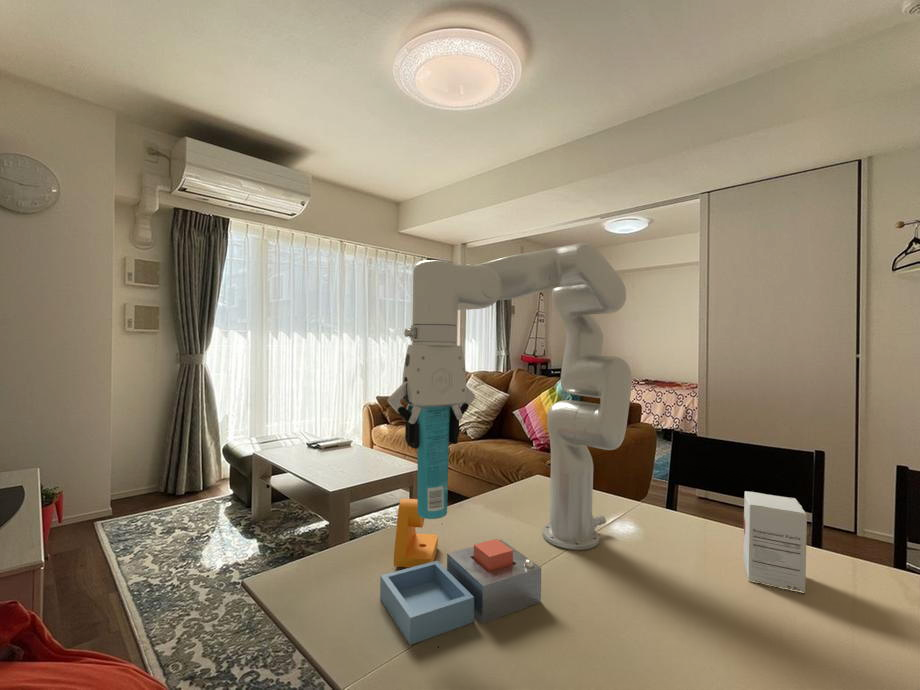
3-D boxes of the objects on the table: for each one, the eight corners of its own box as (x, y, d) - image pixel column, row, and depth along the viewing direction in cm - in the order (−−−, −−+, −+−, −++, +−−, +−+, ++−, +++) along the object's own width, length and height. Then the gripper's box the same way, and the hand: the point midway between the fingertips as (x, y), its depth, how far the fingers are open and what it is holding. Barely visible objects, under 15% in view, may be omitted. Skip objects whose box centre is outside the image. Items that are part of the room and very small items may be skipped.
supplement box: (742, 561, 90) (743, 489, 90) (795, 572, 86) (797, 497, 86) (746, 582, 82) (748, 503, 82) (806, 595, 78) (808, 513, 78)
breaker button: (496, 576, 80) (496, 538, 80) (512, 590, 75) (513, 550, 75) (473, 583, 77) (473, 544, 77) (488, 598, 73) (489, 556, 73)
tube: (436, 504, 75) (438, 395, 75) (457, 511, 72) (460, 398, 72) (405, 516, 70) (408, 398, 70) (426, 525, 67) (429, 401, 67)
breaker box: (500, 569, 84) (501, 534, 84) (540, 602, 74) (541, 561, 74) (446, 585, 78) (447, 547, 78) (482, 623, 68) (483, 579, 68)
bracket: (430, 573, 83) (431, 511, 83) (393, 570, 84) (394, 509, 84) (438, 547, 94) (439, 492, 94) (405, 544, 94) (406, 490, 94)
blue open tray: (436, 582, 80) (437, 560, 80) (473, 622, 68) (474, 597, 68) (380, 598, 74) (380, 575, 74) (409, 645, 63) (410, 617, 63)
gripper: (394, 335, 63) (391, 456, 64) (490, 337, 72) (488, 444, 72) (376, 335, 70) (374, 445, 70) (467, 338, 79) (465, 435, 79)
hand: (432, 443), depth 71 cm, fingers closed on tube, 6 cm apart
